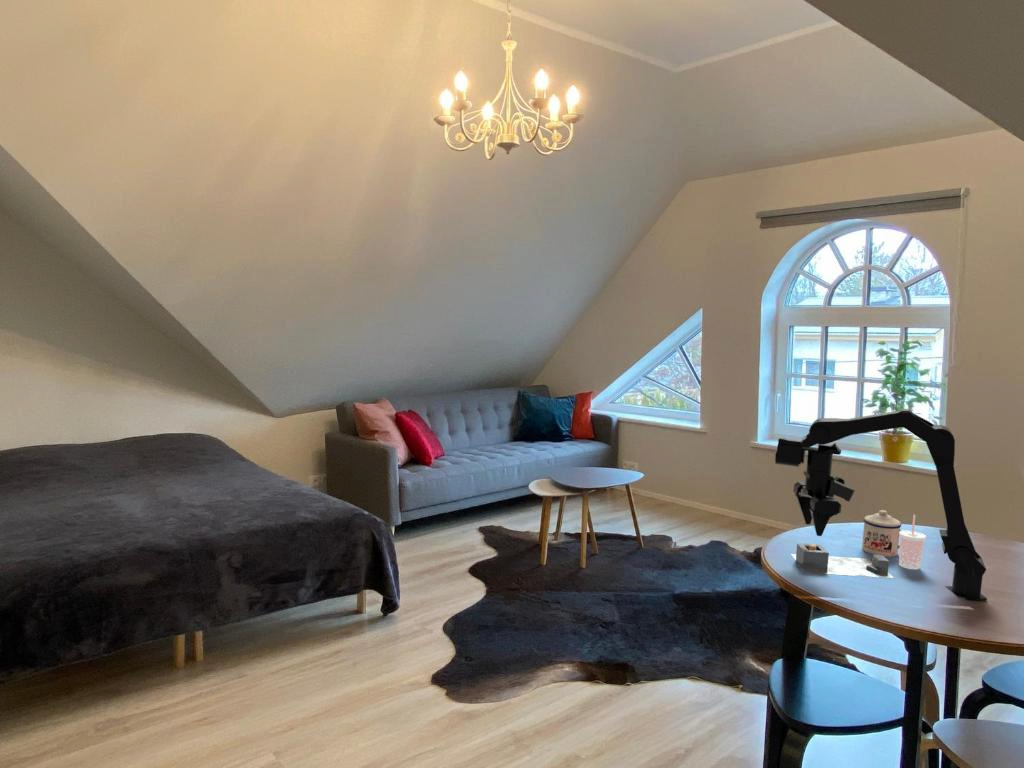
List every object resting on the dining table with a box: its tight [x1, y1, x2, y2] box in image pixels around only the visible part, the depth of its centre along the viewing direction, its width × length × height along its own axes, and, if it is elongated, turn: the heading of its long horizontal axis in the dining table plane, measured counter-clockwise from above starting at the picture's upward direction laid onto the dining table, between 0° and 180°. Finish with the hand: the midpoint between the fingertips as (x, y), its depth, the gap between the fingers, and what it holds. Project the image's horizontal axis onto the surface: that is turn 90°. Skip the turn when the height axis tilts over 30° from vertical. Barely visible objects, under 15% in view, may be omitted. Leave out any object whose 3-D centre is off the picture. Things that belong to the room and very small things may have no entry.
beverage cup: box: [898, 514, 927, 570], centre depth 190 cm, size 6×6×14 cm
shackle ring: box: [795, 542, 830, 570], centre depth 188 cm, size 6×6×4 cm
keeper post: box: [809, 545, 816, 550], centre depth 188 cm, size 2×2×5 cm
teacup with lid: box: [861, 509, 904, 557], centre depth 200 cm, size 12×9×12 cm
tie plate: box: [790, 553, 895, 579], centre depth 189 cm, size 13×21×4 cm, turn 85°
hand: (813, 529), depth 188 cm, fingers open, 9 cm apart
